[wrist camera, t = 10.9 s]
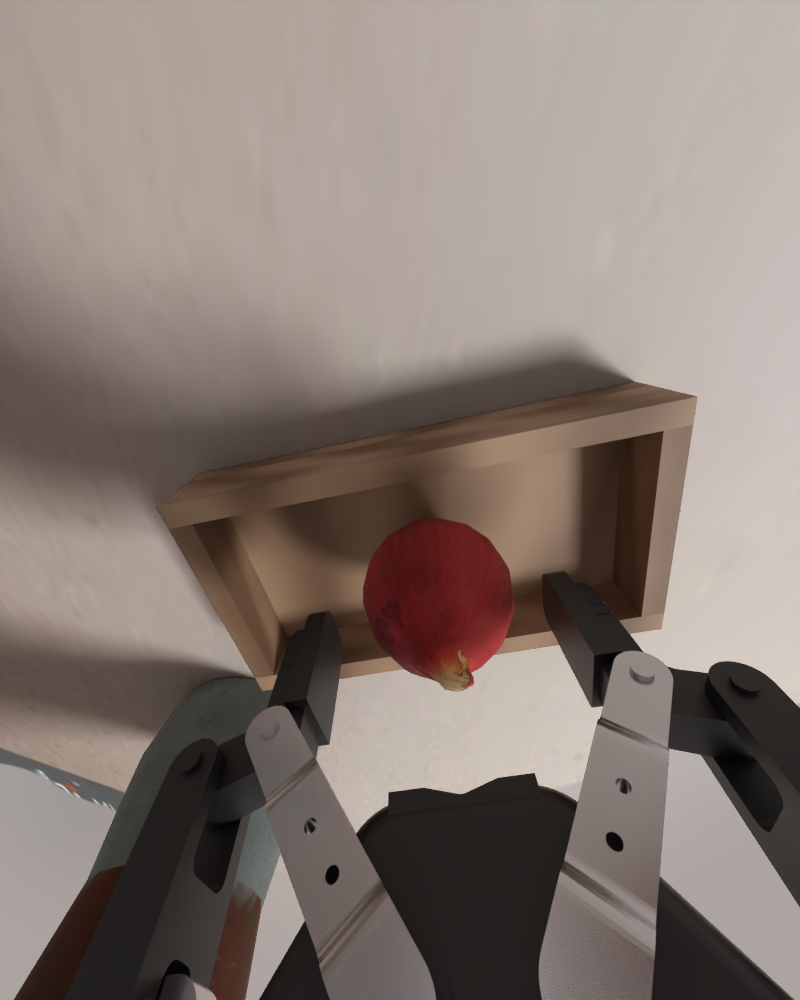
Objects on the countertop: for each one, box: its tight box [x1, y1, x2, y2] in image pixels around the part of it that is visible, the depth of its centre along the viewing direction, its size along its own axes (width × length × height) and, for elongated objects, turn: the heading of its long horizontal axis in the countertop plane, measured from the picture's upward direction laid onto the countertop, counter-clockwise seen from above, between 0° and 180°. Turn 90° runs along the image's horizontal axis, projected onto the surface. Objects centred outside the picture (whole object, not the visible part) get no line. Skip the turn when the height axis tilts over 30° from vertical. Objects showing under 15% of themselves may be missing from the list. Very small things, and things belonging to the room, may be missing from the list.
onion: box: [363, 518, 515, 691], centre depth 14 cm, size 6×6×8 cm
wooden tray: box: [156, 382, 697, 691], centre depth 17 cm, size 20×11×4 cm, turn 102°
